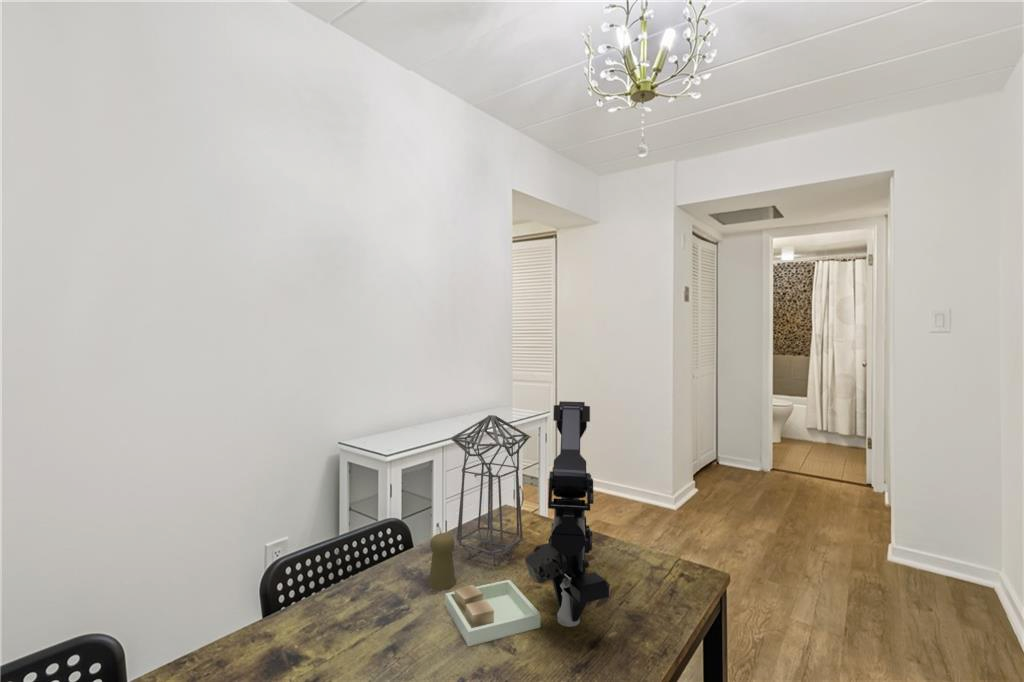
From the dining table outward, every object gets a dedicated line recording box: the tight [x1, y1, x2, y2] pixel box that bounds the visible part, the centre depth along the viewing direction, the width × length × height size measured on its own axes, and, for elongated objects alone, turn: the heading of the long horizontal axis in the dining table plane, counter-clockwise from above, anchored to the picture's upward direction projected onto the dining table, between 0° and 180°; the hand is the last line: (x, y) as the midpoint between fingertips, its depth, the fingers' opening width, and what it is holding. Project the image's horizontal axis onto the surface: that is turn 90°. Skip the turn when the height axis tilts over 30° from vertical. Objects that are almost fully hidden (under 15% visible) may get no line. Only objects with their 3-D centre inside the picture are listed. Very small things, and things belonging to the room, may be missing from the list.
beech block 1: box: [454, 584, 483, 619], centre depth 96 cm, size 4×4×4 cm
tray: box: [444, 579, 542, 647], centre depth 95 cm, size 14×14×3 cm
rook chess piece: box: [556, 578, 581, 628], centre depth 94 cm, size 4×4×8 cm
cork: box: [428, 532, 457, 591], centre depth 108 cm, size 6×6×11 cm
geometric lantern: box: [450, 414, 532, 567], centre depth 121 cm, size 16×16×35 cm
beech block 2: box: [466, 600, 494, 628], centre depth 91 cm, size 4×4×4 cm
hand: (568, 614), depth 94 cm, fingers closed on rook chess piece, 4 cm apart
